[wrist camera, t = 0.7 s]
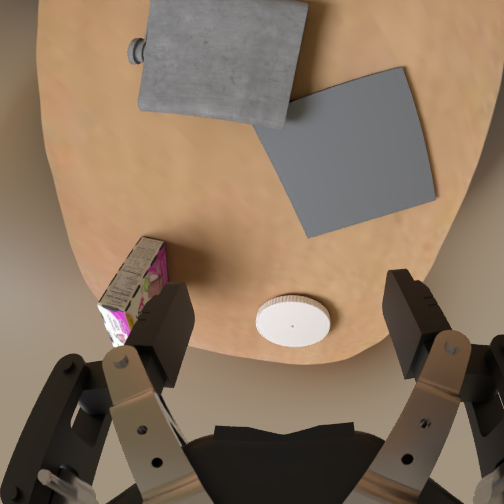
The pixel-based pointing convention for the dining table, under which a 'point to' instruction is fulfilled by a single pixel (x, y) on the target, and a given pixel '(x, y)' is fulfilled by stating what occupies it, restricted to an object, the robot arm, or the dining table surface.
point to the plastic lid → (293, 321)
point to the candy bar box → (133, 288)
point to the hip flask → (220, 58)
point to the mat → (351, 153)
